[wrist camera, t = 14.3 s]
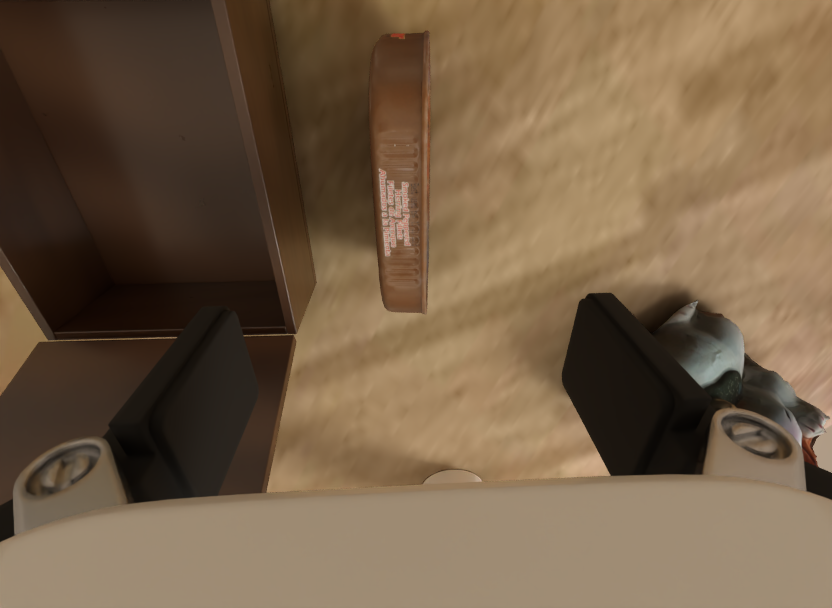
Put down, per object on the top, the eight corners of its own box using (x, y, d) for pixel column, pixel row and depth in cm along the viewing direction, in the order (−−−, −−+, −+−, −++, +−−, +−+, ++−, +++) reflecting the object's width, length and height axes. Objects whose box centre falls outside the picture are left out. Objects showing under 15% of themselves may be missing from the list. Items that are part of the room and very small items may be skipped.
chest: (-30, -11, 20) (-197, -39, 14) (267, -14, 20) (215, -43, 15) (115, 287, 29) (47, 340, 24) (316, 282, 30) (296, 334, 24)
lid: (-326, 852, 12) (-293, 842, 12) (191, 827, 12) (201, 818, 12) (38, 341, 23) (47, 347, 24) (294, 334, 24) (296, 341, 24)
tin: (428, 275, 30) (436, 343, 23) (386, 275, 30) (381, 344, 22) (431, 35, 22) (444, 23, 15) (374, 35, 22) (360, 23, 14)
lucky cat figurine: (729, 272, 30) (956, 427, 22) (685, 341, 40) (830, 467, 32) (567, 373, 29) (738, 573, 21) (562, 419, 39) (678, 568, 31)
